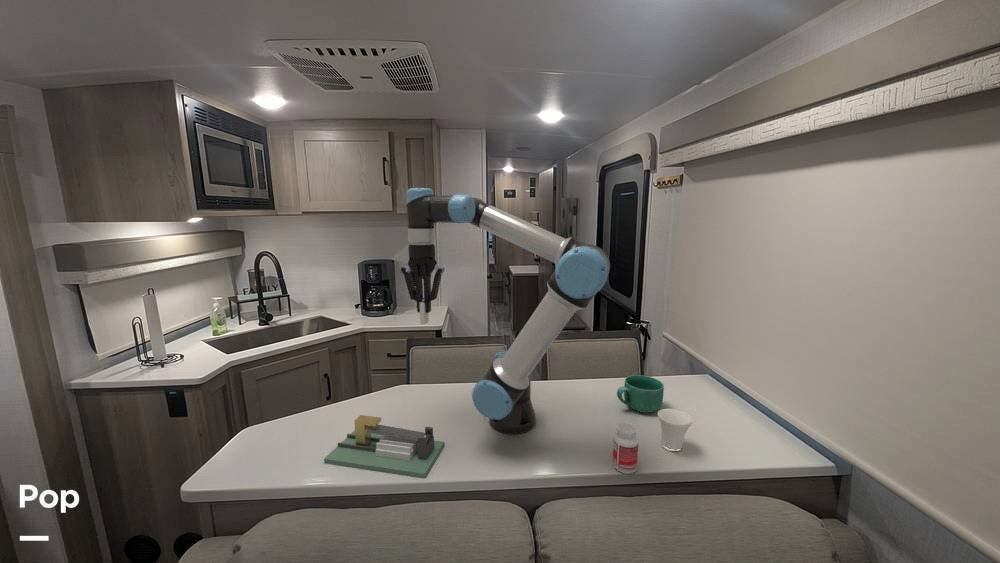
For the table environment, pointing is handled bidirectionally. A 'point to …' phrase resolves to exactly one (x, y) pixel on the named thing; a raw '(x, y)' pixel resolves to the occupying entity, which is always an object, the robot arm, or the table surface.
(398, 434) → the strap
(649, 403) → the mug
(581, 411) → the table surface
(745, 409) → the table surface
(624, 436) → the pill bottle
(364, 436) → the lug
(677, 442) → the cup
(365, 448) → the board
